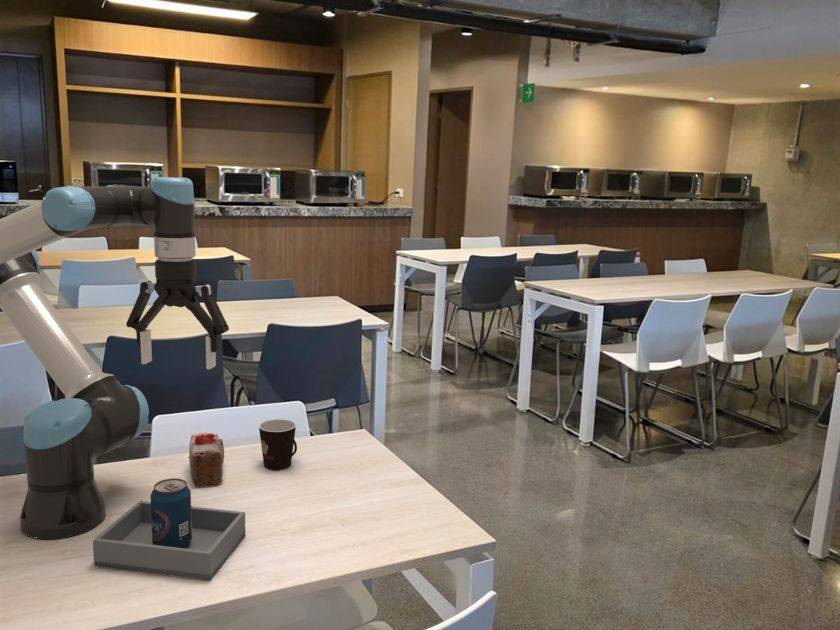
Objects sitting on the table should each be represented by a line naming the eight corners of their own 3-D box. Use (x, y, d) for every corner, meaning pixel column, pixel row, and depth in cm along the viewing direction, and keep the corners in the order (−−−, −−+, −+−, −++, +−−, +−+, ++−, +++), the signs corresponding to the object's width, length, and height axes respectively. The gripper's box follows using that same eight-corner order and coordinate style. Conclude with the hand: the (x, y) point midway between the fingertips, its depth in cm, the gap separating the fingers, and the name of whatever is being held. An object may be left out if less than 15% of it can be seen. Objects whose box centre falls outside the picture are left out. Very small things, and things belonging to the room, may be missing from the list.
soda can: (144, 547, 132) (141, 486, 129) (176, 532, 137) (174, 473, 135) (168, 559, 128) (166, 496, 125) (200, 543, 133) (198, 483, 131)
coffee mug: (257, 459, 175) (257, 420, 173) (293, 456, 177) (293, 418, 175) (262, 479, 164) (261, 437, 162) (300, 475, 167) (300, 435, 165)
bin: (94, 566, 127) (92, 540, 126) (140, 524, 142) (139, 500, 141) (210, 580, 124) (209, 553, 123) (245, 536, 139) (245, 512, 138)
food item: (187, 465, 170) (186, 426, 168) (222, 462, 173) (221, 423, 171) (190, 489, 158) (189, 447, 156) (228, 485, 160) (227, 444, 158)
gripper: (104, 257, 137) (109, 365, 141) (228, 264, 133) (230, 374, 138) (125, 253, 144) (130, 355, 148) (244, 259, 141) (245, 364, 145)
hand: (178, 365), depth 143 cm, fingers open, 13 cm apart
